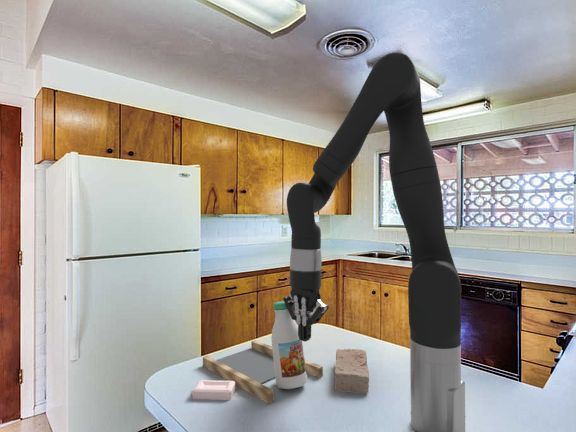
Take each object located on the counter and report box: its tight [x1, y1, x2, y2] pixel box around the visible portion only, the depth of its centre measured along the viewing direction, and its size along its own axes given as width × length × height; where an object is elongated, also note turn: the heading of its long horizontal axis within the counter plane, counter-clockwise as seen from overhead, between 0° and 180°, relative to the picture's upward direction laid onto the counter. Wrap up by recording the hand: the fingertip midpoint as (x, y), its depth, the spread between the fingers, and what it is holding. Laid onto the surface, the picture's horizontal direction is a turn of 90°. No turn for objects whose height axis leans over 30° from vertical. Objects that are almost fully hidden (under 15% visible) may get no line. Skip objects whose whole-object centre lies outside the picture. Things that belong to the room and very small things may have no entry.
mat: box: [216, 347, 276, 385], centre depth 96 cm, size 20×15×1 cm
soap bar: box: [192, 379, 236, 401], centre depth 82 cm, size 5×9×2 cm, turn 87°
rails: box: [202, 339, 324, 405], centre depth 93 cm, size 28×19×2 cm
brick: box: [334, 348, 370, 394], centre depth 90 cm, size 16×8×5 cm, turn 170°
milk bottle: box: [271, 300, 308, 390], centre depth 86 cm, size 8×8×20 cm
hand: (304, 339), depth 82 cm, fingers closed
